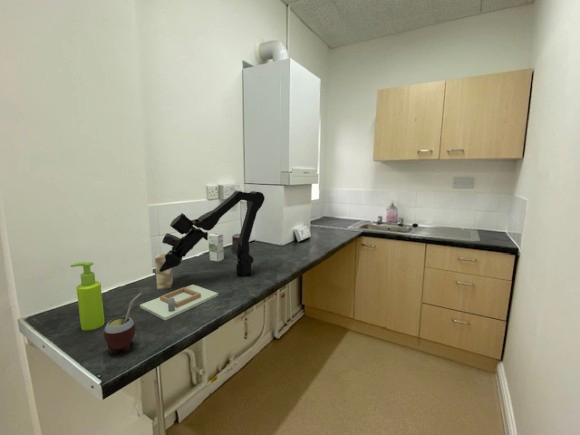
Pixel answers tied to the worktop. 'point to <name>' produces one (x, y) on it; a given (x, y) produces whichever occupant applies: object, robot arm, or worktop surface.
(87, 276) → the soap dispenser
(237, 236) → the soda can
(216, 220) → the robot arm
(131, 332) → the mate gourd
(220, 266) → the worktop surface
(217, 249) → the syrup box
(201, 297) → the seat plate
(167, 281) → the pine post
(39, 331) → the worktop surface
